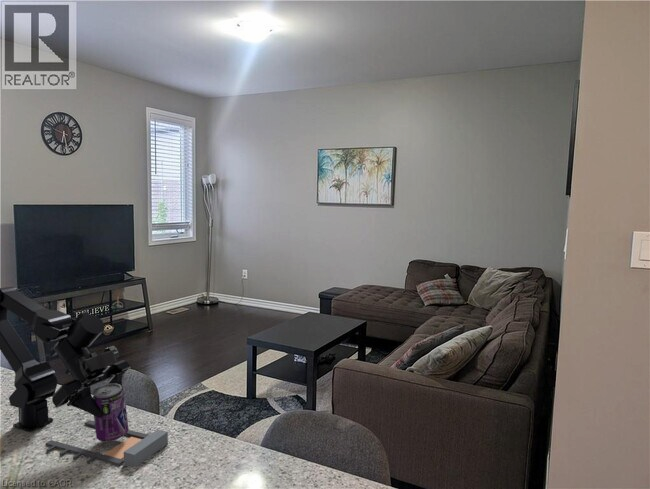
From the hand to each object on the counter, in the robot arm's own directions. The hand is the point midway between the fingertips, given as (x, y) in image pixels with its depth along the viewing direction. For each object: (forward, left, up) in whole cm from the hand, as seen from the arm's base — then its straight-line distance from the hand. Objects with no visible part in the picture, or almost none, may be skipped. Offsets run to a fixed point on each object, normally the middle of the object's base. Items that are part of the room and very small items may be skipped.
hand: (113, 410), depth 108 cm
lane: (-2, -1, -9) cm, 9 cm away
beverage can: (-2, +1, -7) cm, 7 cm away
